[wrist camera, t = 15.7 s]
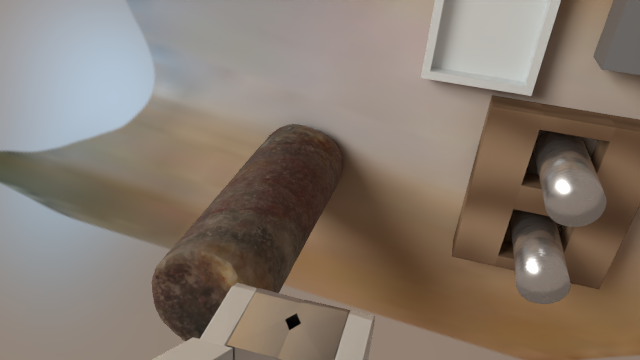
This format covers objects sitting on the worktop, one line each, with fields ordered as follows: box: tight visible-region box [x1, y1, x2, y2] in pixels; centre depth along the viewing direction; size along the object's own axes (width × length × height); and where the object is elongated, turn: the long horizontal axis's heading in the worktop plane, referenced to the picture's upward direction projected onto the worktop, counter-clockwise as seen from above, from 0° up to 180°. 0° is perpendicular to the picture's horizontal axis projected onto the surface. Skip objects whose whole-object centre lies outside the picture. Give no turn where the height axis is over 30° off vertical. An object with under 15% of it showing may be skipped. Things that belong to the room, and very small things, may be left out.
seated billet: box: [511, 210, 571, 304], centre depth 40 cm, size 4×4×8 cm
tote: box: [421, 0, 561, 96], centre depth 36 cm, size 9×8×2 cm
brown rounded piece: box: [152, 124, 343, 341], centre depth 38 cm, size 8×7×20 cm
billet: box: [534, 131, 606, 227], centre depth 37 cm, size 4×4×8 cm
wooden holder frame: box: [452, 96, 640, 289], centre depth 41 cm, size 14×12×2 cm
